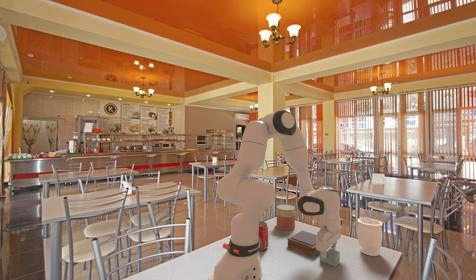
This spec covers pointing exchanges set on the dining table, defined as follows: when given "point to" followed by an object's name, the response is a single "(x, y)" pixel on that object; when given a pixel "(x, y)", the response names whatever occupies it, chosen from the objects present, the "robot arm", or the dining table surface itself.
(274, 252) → the dining table surface
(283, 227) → the canned food
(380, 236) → the jar
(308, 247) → the walnut picture frame
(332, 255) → the pale green block
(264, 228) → the beverage can
